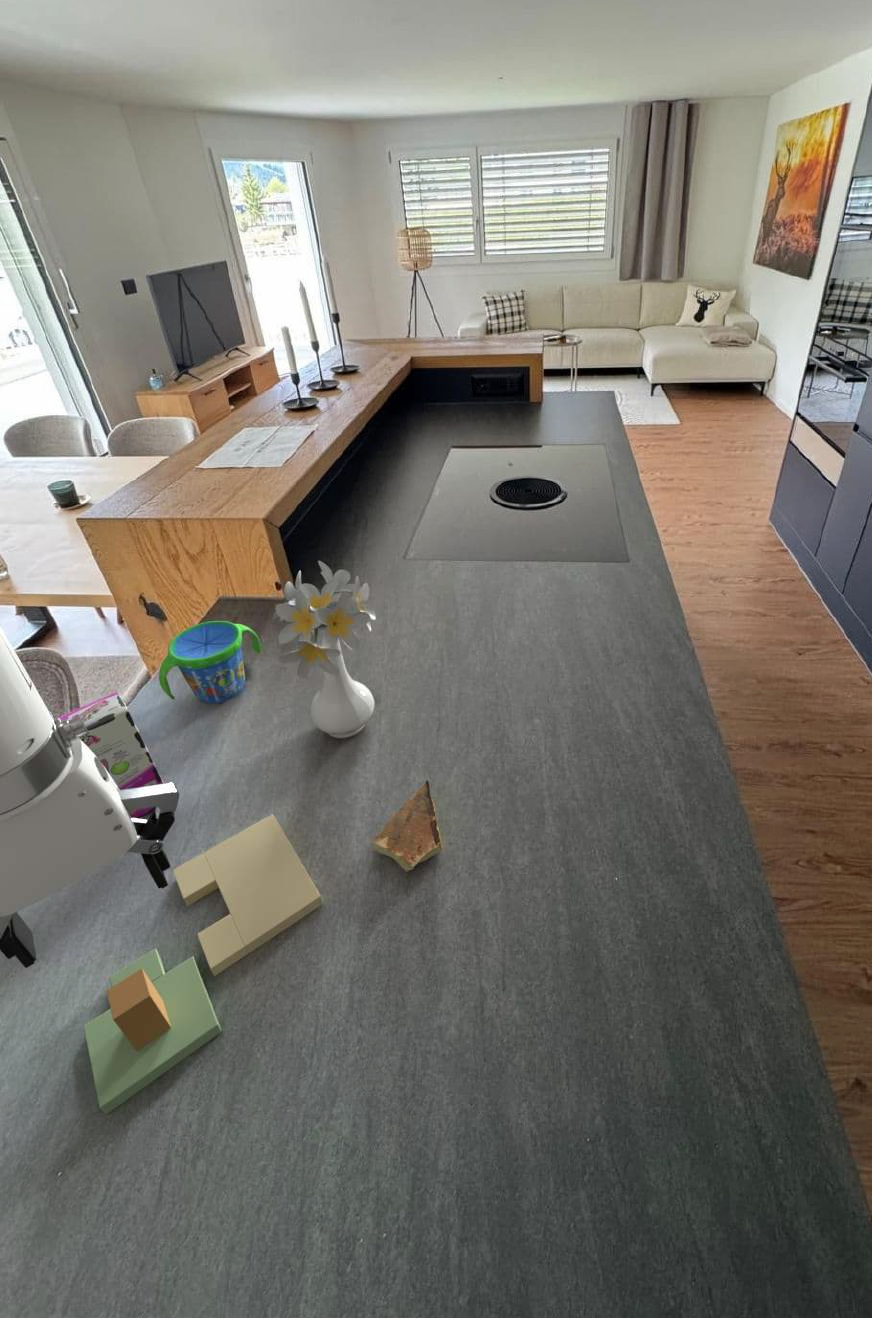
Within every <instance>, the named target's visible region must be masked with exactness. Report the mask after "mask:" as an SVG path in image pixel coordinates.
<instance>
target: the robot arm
mask: <svg viewBox="0 0 872 1318" xmlns="http://www.w3.org/2000/svg"><path fill="white" fill-rule="evenodd" d="M56 718H57V719H56ZM56 718H55V716H54V714H53V712H52V711H49V709H48V707H47V705H46V704H45V702H44V700H43V699H42V697H41V695H40V693H39V692H38V689H37V687H36V686H35V684H34V682H33V680H32V679H31V677H30V675H29V674H28V672H27V670H26V668H25V667H24V665H23V663H22V661H21V660H20V657H19V656H18V654H17V652H16V651H15V649H14V647H13V646H12V644H11V642H10V640H9V639H8V637H7V636H6V633H5V632H4V630H3V628H2V627H1V625H0V952H1V953H2V954H3V955H4V957H5V958H6V959H8V960H11V959H12V958H14V957H16V959H17V960H18V961H19V962H20V963H21V964H22V966H23V967H24V968H25V969H27V968H29V967H30V966H31V967H32V965H35V962H36V961H37V960H38V958H37V953H36V946H35V939H34V934H33V931H32V930H31V928H30V927H29V926H28V924H27V923H26V922H25V921H24V920H23V918H22V917H21V915H20V914H19V912H21V911H22V910H25V909H26V908H28V907H30V906H32V905H34V904H36V903H38V902H40V901H42V900H44V899H46V898H47V897H50V896H52V895H53V894H55V893H57V892H59V891H61V890H62V889H64V888H66V887H68V886H70V885H72V884H73V883H75V882H77V881H79V880H81V879H83V878H85V877H87V876H88V875H90V874H92V873H94V872H96V871H97V870H99V869H102V868H103V867H105V866H106V865H108V864H109V863H112V862H114V861H115V860H117V859H118V858H120V857H121V856H123V855H124V854H126V853H134V854H140V855H141V858H142V860H143V863H144V865H145V867H146V869H147V871H148V872H149V875H150V876H151V877H152V879H153V881H154V883H155V885H156V887H157V889H158V890H160V889H162V890H163V889H165V888H166V887H168V886H169V883H168V880H167V878H166V875H165V871H166V870H168V869H170V868H171V867H172V866H171V863H170V861H169V859H168V855H167V854H166V852H165V850H164V843H163V841H164V839H165V838H166V836H167V835H168V833H169V831H170V829H171V828H172V826H173V824H175V819H176V818H175V812H177V808H178V803H179V800H180V793H179V790H178V788H177V786H176V784H175V783H174V782H167V783H164V784H159V785H152V786H145V787H138V788H132V789H125V790H119V788H118V787H117V785H116V783H115V782H114V780H113V779H112V777H111V776H110V774H109V773H108V771H107V770H106V769H105V767H104V766H103V764H102V763H101V762H100V761H99V759H98V758H97V757H96V755H95V754H94V753H93V752H92V751H91V750H90V749H89V748H88V747H87V746H86V745H85V744H84V743H83V742H82V741H81V740H80V739H79V738H77V737H79V736H81V735H83V734H86V733H88V731H87V728H86V726H85V724H84V722H83V720H82V718H81V716H78V717H76V718H74V719H71V720H68V719H66V720H64V721H61V720H60V718H58V717H56ZM151 807H155V809H154V810H153V811H151V813H150V815H149V816H148V819H144V818H139V819H138V818H131V816H130V814H129V813H130V811H133V810H139V809H145V808H151Z"/></svg>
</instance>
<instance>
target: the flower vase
mask: <svg viewBox="0 0 872 1318" xmlns="http://www.w3.org/2000/svg"><path fill="white" fill-rule="evenodd" d="M317 563H318V566H319V568H320V569H321V571H320V574H321V575H322V577H323V579H324V580H325V583H326V584H324V585H323V586H322V588H321V590H320V591H319V589H318V588H317V587H316V586H315V585H314V584H311V583H305V582H304V583H302V572H301V570H299V571H298V573H297V575H296V578H295V582H294V583H295V584H293V583H292V582H291V581H287V582H286V583H285V585H284V589H283V595H284V598H285V600H287V602H283V603H277V604H276V605H275V608H274V610H275V612H274V613H273V615H272V619H276V618H279V622H280V623H281V622H282V621H285V622H288V623H289V624H287V625H285V626H284V627H283V628H282V629H281V631H280V632H279V635H278V637H277V640H278V642H279V644H280V645H286V644H289V643H290V642H292V641H293V640H294V639H296V638H297V637H298V641H297V642H296V647H297V649H295V650H292V651H288V652H285V653H282V654H280V655H279V656H278V657H277V660H278V661H280V662H283V663H296V662H299V663H298V666H297V669H296V675H297V676H298V677H299V678H300V679H307V678H309V677H311V675H313V673H314V672H315V671H316V667H317V665H318V668H320V670H321V672H322V684H321V687H320V688H319V690H318V691H316V693H315V694H314V696H313V697H312V700H311V702H310V706H309V716H310V721H311V722H312V724H313V725H314V726H315V728H317V729H318V730H320V731H321V732H323V733H326V734H327V735H328V736H330V737H333V738H336V739H347V738H350V737H354V736H355V735H358V734H359V733H361V731H362V730H363V729H364V728H365V726H366V724H367V723H368V721H369V720H370V718H371V717H372V716H373V713H374V711H375V705H376V704H375V699H374V696H373V693H372V692H371V690H370V689H369V688H368V686H366V685H365V684H363V683H361V682H359V681H358V680H354V679H353V678H352V677H351V675H350V674H349V672H348V669H347V667H346V664H345V660H344V656H343V651H342V647H341V642H342V643H343V645H345V647H347V649H349V650H350V651H353V652H357V651H359V650H360V648H361V642H360V638H359V637H358V635H357V633H356V632H355V631H354V630H353V629H359V628H362V627H364V626H365V627H366V628H367V630H368V631H369V632H372V627H371V623H370V621H371V620H372V621H376V619H377V615H376V613H375V610H374V609H373V608H372V607H371V605H370V604H367V603H365V602H367V600H368V598H369V595H370V587H369V584H368V583H367V582H365V583H363V585H362V586H361V582H360V579H359V576H358V575H356V577H355V582H354V583H349V581H350V580H351V574H350V572H349V571H347V570H346V569H339V570H337V571H336V572H335V573H334V574H333V571H332V570H331V568H330V567H329V566H328V565H327V564H325V563H324V562H323V561H322V560H317ZM294 585H295V586H294ZM350 593H352V595H350ZM335 603H336V604H335ZM334 604H335V606H334V607H335V608H334V610H332V609H331V608H328V607H330V606H332V605H334ZM350 611H351V612H350ZM312 636H313V638H312ZM312 639H313V640H312ZM340 640H341V642H340Z"/></svg>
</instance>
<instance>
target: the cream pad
mask: <svg viewBox="0 0 872 1318" xmlns="http://www.w3.org/2000/svg"><path fill="white" fill-rule="evenodd" d="M172 873H173V875H174V878H175V881H176V883H177V885H178V888H179V892H180V893H181V896H182V899H183V901H184V902H185V905H186V906H187V907H189V906H191V905H192V904H194V903H196V902H197V901H199V900H201V899H203V898H205V897H206V896H208V895H210V894H211V893H212V892H215V891H216V890H219V891H220V894H221V896H222V899H223V901H224V903H225V905H226V907H227V909H228V912H229V914H227V915H225V916H224V917H222V918H221V919H219V920H218V921H216V922H214V923H213V924H211V925H209V926H208V927H206V928H204V929H203V930H202V931H200V932H198V933H197V934H196V935H197V938H198V940H199V943H200V946H201V948H202V952H203V954H204V956H205V959H206V961H207V964H208V967H209V970H210V971H211V973H212V975H213V977H216V976H217V975H219V974H220V973H222V972H223V971H225V970H226V969H228V968H230V967H231V966H232V965H234V964H236V963H237V962H238V961H239V960H241V959H243V958H244V957H245V956H247V955H249V954H250V953H252V952H253V951H255V950H256V949H258V948H259V947H261V946H262V945H264V944H265V943H267V942H268V941H270V940H271V939H273V938H274V937H276V936H277V935H279V934H281V933H282V932H283V931H285V930H286V929H288V928H289V927H291V926H292V925H294V924H295V923H297V922H298V921H300V920H301V919H303V918H304V917H306V916H308V915H309V914H310V913H312V912H314V911H315V910H316V909H317V908H319V907H321V906H322V905H323V904H324V902H323V898H322V896H321V894H320V892H319V890H318V889H317V887H316V885H315V884H314V883H315V882H313V880H312V878H311V877H310V875H309V873H308V872H307V870H306V867H304V864H303V863H302V862H301V860H300V858H299V856H298V854H297V853H296V851H295V849H294V848H293V845H292V844H291V843H290V841H289V839H288V838H287V836H286V834H285V832H284V831H283V829H282V827H281V826H280V824H279V822H278V821H277V819H276V817H275V815H274V814H273V813H271V814H270V815H268V816H266V817H265V818H262V819H261V820H259V821H258V822H255V823H253V824H252V825H250V826H248V827H246V828H245V829H243V830H241V831H240V832H237V833H236V834H234V835H233V836H231V837H229V838H227V839H225V840H224V841H222V842H220V843H218V844H216V845H215V846H213V847H211V848H209V849H208V850H206V851H204V852H203V853H201V854H199V855H197V856H195V857H193V858H191V859H190V860H188V861H187V862H184V863H183V864H181V865H179V866H177V867H176V868H174V869H173V870H172Z"/></svg>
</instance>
